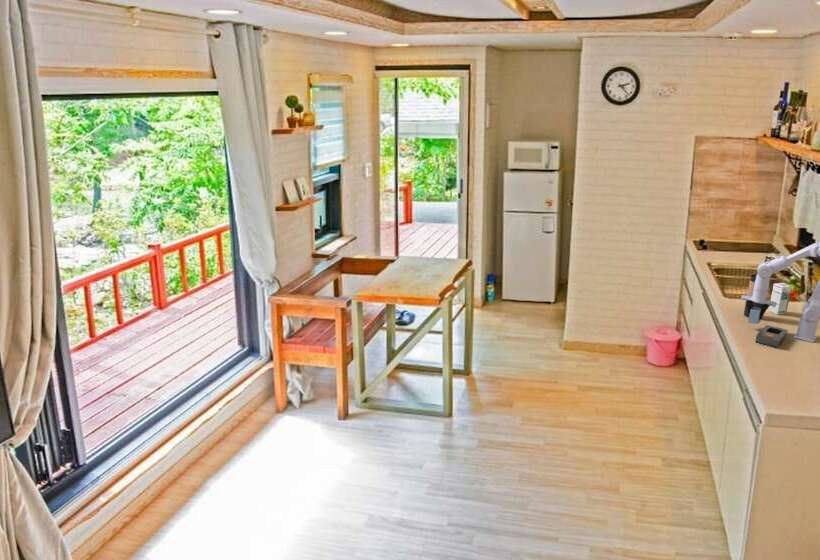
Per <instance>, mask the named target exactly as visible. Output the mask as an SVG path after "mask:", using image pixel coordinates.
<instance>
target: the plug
mask: <svg viewBox="0 0 820 560" xmlns="http://www.w3.org/2000/svg"><path fill="white" fill-rule="evenodd" d="M760 314H761V308H758V307H753V308H752V309H751V310H750V315H749V317H748V320H747V322H748V323H751V324H754V325H758V324H759V323H760V322H761V321H762V319H761V320H759V317H760Z"/></svg>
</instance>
